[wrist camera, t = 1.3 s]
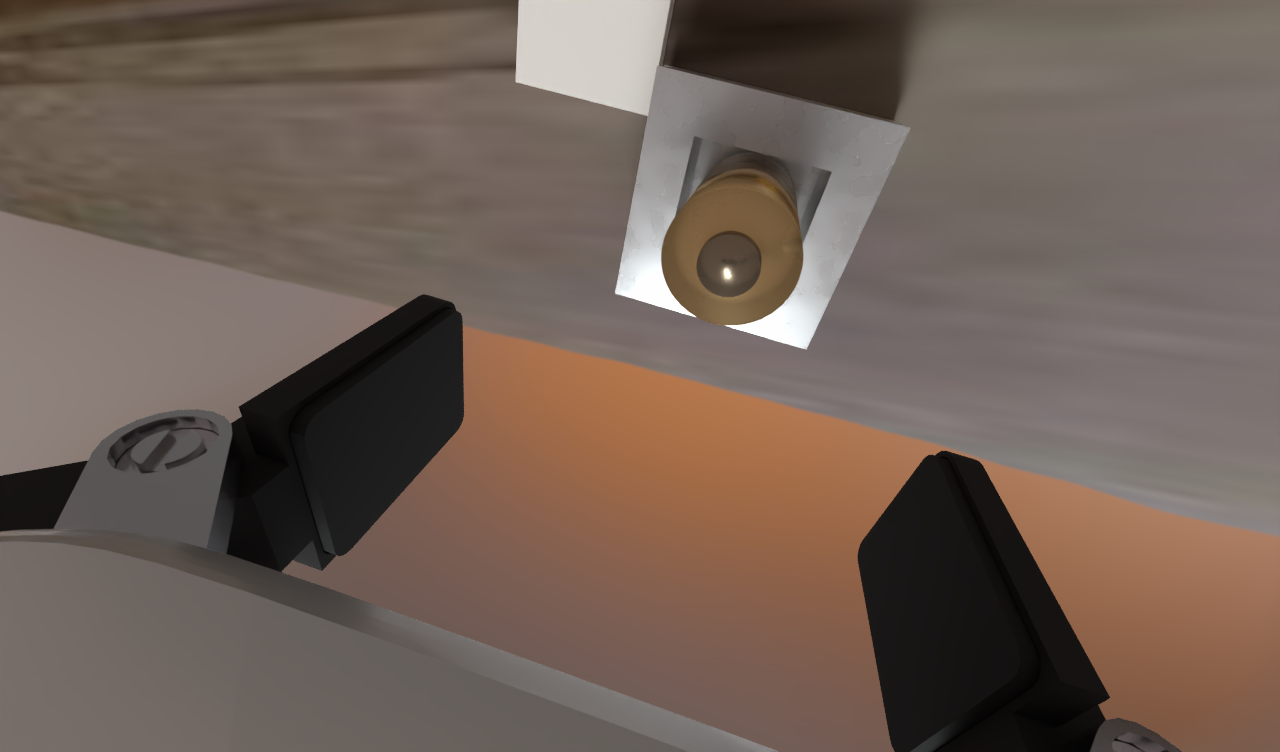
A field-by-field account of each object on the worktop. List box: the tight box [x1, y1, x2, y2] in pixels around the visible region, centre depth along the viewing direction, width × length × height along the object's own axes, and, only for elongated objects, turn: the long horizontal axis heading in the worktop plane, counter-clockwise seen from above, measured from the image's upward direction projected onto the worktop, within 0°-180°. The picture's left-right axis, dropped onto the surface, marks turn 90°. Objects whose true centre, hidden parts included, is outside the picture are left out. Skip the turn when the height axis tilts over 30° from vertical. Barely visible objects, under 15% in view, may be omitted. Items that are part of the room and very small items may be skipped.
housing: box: [615, 65, 910, 349], centre depth 26 cm, size 12×11×6 cm
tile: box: [516, 0, 675, 116], centre depth 25 cm, size 8×8×1 cm
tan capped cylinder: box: [661, 152, 803, 326], centre depth 22 cm, size 5×5×11 cm
